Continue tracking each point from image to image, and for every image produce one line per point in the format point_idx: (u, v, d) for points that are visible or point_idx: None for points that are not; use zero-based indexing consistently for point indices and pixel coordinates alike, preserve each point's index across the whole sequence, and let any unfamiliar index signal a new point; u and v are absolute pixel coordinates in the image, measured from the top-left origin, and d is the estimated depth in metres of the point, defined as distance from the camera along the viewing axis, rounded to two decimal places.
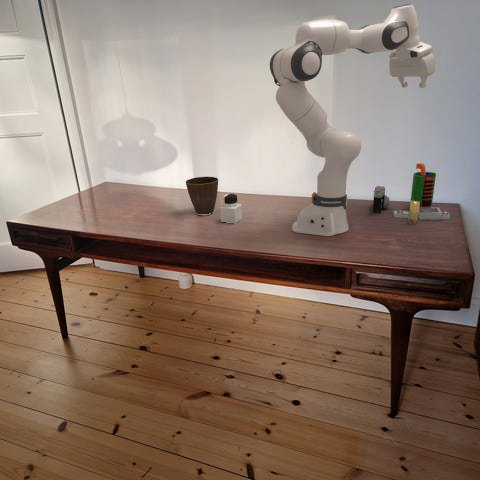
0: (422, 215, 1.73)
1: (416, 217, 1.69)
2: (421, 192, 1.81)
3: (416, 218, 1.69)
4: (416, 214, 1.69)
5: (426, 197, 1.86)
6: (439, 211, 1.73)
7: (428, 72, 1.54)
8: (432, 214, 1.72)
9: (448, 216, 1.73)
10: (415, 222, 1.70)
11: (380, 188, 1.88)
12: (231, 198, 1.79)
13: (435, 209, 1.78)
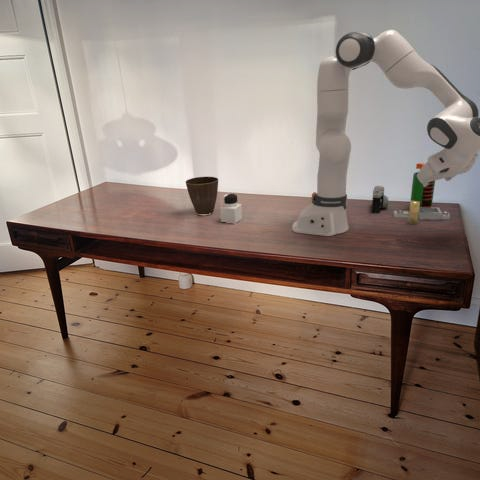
0: (422, 215, 1.73)
1: (416, 217, 1.69)
2: (421, 192, 1.81)
3: (416, 218, 1.69)
4: (416, 214, 1.69)
5: (426, 197, 1.86)
6: (439, 211, 1.73)
7: (417, 174, 1.49)
8: (432, 214, 1.72)
9: (448, 216, 1.73)
10: (415, 222, 1.70)
11: (379, 188, 1.88)
12: (231, 198, 1.79)
13: (435, 209, 1.78)
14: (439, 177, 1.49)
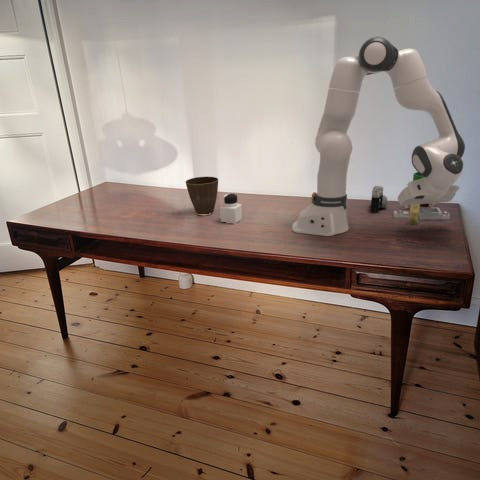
0: (422, 215, 1.73)
1: (416, 217, 1.69)
2: None
3: (416, 218, 1.69)
4: (416, 214, 1.69)
5: None
6: (439, 211, 1.73)
7: (398, 196, 1.61)
8: (432, 214, 1.72)
9: (448, 216, 1.73)
10: (415, 222, 1.70)
11: (378, 188, 1.88)
12: (231, 198, 1.79)
13: (435, 209, 1.78)
14: (418, 202, 1.59)
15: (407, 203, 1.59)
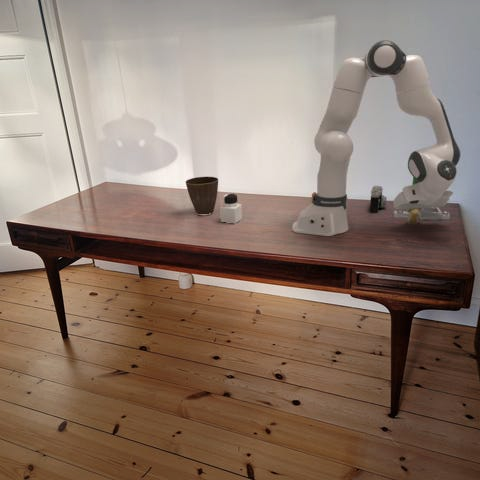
0: (422, 215, 1.73)
1: (416, 217, 1.69)
2: None
3: (416, 218, 1.69)
4: (416, 214, 1.69)
5: None
6: (439, 211, 1.73)
7: (393, 201, 1.65)
8: (432, 214, 1.72)
9: (448, 216, 1.73)
10: (415, 222, 1.70)
11: (377, 188, 1.88)
12: (231, 198, 1.79)
13: (435, 209, 1.78)
14: (413, 207, 1.64)
15: (402, 207, 1.63)
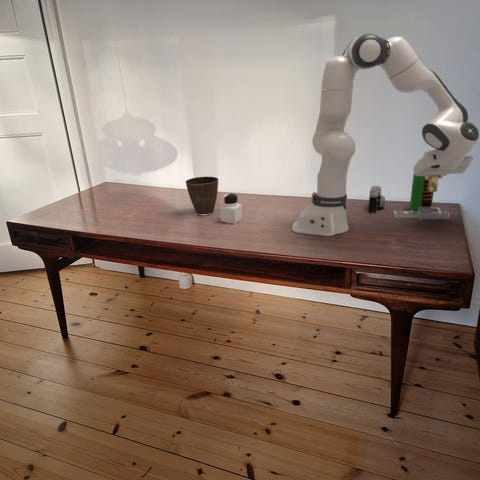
0: (422, 215, 1.73)
1: (436, 184, 1.70)
2: (421, 192, 1.81)
3: (436, 185, 1.70)
4: (436, 181, 1.70)
5: (426, 197, 1.86)
6: (439, 211, 1.73)
7: None
8: (432, 214, 1.72)
9: (448, 216, 1.73)
10: (435, 189, 1.71)
11: (376, 188, 1.88)
12: (231, 198, 1.79)
13: (435, 209, 1.78)
14: (433, 173, 1.65)
15: (422, 173, 1.64)
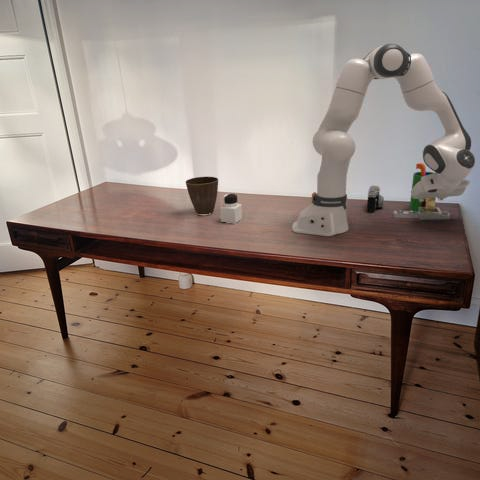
0: (422, 215, 1.73)
1: (432, 210, 1.74)
2: None
3: (432, 211, 1.74)
4: (432, 207, 1.74)
5: None
6: (439, 211, 1.73)
7: (411, 190, 1.69)
8: (432, 214, 1.72)
9: (448, 216, 1.73)
10: None
11: (374, 188, 1.89)
12: (231, 198, 1.79)
13: (435, 209, 1.78)
14: (430, 196, 1.68)
15: (420, 196, 1.68)
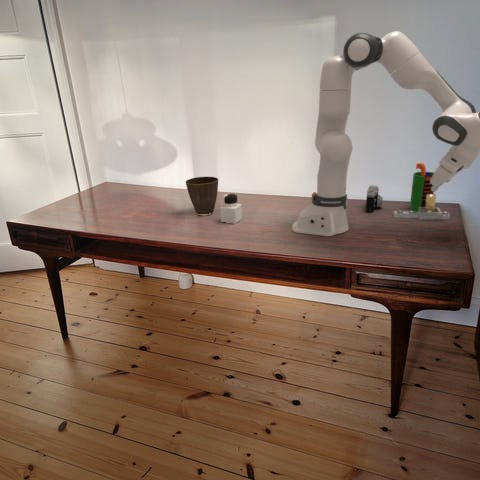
0: (422, 215, 1.73)
1: (432, 210, 1.74)
2: (421, 192, 1.81)
3: (432, 210, 1.74)
4: (432, 207, 1.74)
5: None
6: (439, 211, 1.73)
7: (430, 180, 1.48)
8: (432, 214, 1.72)
9: (448, 216, 1.73)
10: None
11: (373, 188, 1.89)
12: (231, 198, 1.79)
13: (435, 209, 1.78)
14: (449, 178, 1.50)
15: (443, 183, 1.48)
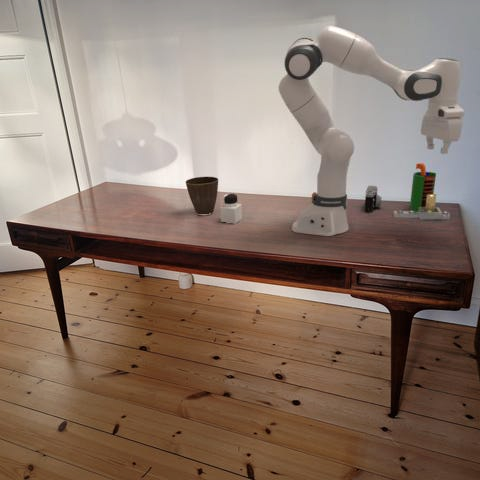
0: (422, 215, 1.73)
1: (433, 210, 1.74)
2: (421, 192, 1.81)
3: (433, 211, 1.74)
4: (433, 207, 1.73)
5: (426, 197, 1.86)
6: (439, 211, 1.73)
7: (450, 137, 1.36)
8: (432, 214, 1.72)
9: (448, 216, 1.73)
10: None
11: (372, 187, 1.89)
12: (231, 198, 1.79)
13: (435, 209, 1.78)
14: None
15: None
